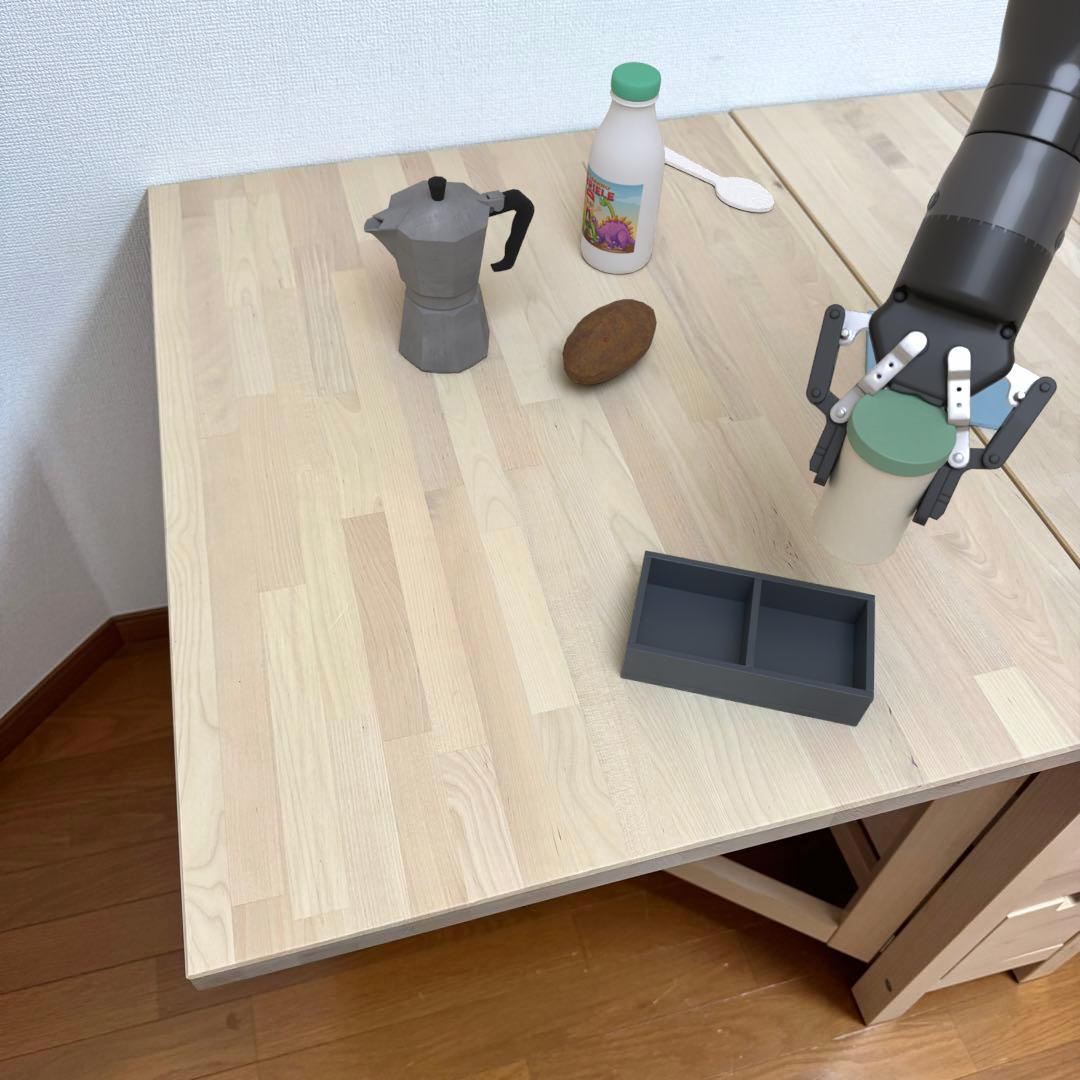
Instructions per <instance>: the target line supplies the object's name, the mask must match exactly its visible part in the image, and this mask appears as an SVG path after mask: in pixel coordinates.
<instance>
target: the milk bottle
mask: <svg viewBox="0 0 1080 1080" xmlns="http://www.w3.org/2000/svg"><path fill="white" fill-rule="evenodd" d="M661 84H662V75H661V73H660V71H659V70H658V69H657V68H656V67H654V66H653V65H650V64H648V63H644V62H639V61H629V62H624V63H621V64H619V65H617V66H616V67H614V69H613V70H612V73H611V79H610V90H609V95H610V98H611V102H610V104H609V108H608V111H607V113H606V115H605V117H604V119H603V120H602V122H601V123H600V124H599V126H598V128H597V130H596V132H595V134H594V137H593V138H592V142H591V145H590V149H589V153H588V162H587V169H586V178H585V179H586V180H585V190H584V200H583V201H584V202H583V213H582V222H581V223H582V224H581V235H580V252H581V254H582V256H583V259H584V260H585V262H586V263H587V264H588V265H589V266H591V267H593V268H594V269H596V270H598V271H601V272H603V273H607V274H615V275H623V274H630V273H634V272H637V271H639V270H641V269H642V268H644V267H645V266H646V265H647V264H648V262H649V261H650V259H651V258H652V253H653V248H654V244H655V242H654V241H655V238H656V237H655V235H656V230H657V222H658V215H659V209H660V204H661V203H660V202H661V196H662V188H663V183H664V182H663V181H664V173H665V164H666V163H665V148H664V146H665V142H664V138H663V134H662V131H661V128H660V125H659V121H658V117H657V112H656V103H657V102H658V100H659V98H660V94H659V93H660V92H661V91H660V90H661Z"/></svg>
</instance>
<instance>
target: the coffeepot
mask: <svg viewBox="0 0 1080 1080" xmlns="http://www.w3.org/2000/svg"><path fill="white" fill-rule="evenodd" d="M511 211H514V212H515V214H514V216H513V219H512V222H511V227H510V232H509V236H508V238H507V239H506V241H505V243H504V255H503V258H502V259H501V260H498V261H496V262H493V263H490V268H491V270H492V272H493V273H500V272H504V271H509V270H511V269H513V267H515V264H516V261H517V258H518V255H519V253H520V250H521V248H522V246H523V243H524V240H525V239H526V235H527V232H528V229H529V227H530V225H531V223H532V220H533V219H534V215H535V211H536V209H535V205H534V203H533V201H532V200H531V199H530V198H529V197H528V196H527V195H525V194H524V193H523V192H522V191H521V190H520V189H517V188H511V189H508V190H504V191H500V190H498V189H497V190H492V191H491V190H490V191H485V192H482V193H479V192H478V191H477V190H475V189H474V188H473V187H471V186H469V185H468V184H467V183H465V182H459V181H448V179H447V178H445V177H444V176H441V175H440V176H439V175H433V176H432V177H429V178H428V179H427V180H421V181H419V182H417V183H415V184H412V185H410V186H408V187H406V188H404V189H402V190H399V191H397V192H395V193H392V194H391V195H390V198H389V202H388V207H387V208H384V209H383V210H381V211H378V212H377V213H375V214H373V215H372V216H371V217H369V218H367V219H366V221H365V223H364V225H363V231H364V233H365V234H366V233H367V234H371V235H372V236H373V237H374V238H376V239H377V240H378V241H379V242H380V243H381V244H382V246H383V247H384V248H385V249H386V250H387V251H388V252H389V253H390V255H391V256H392V257H393V258H394V259H395V262H396V267H397V270H398V273H399V274H398V275H399V278H400V280H401V281H402V282H403V283H404V284H405V291H404V297H403V308H402V315H401V324H400V334H399V343H398V352H399V353H400V354H401V355H402V356H403V357H404V358H405V359H406V360H407V361H408V362H409V364H412V365H413V366H415V367H416V368H418V369H420V370H421V371H425V372H429V373H433V374H454V373H460V372H463V371H466V370H468V369H470V368H473V367H475V366H476V365H477V364H478V363H480V362H481V361H482V360H483V359H485V358H486V357H487V356H488V352H489V351H488V350H489V341H490V334H491V333H490V332H491V331H490V330H491V329H490V326H489V321H488V316H487V312H486V307H485V302H484V298H483V293H482V287H481V284H480V282H479V281H480V274H481V270H482V269H481V267H482V262H483V257H484V256H483V255H484V250H485V249H484V248H485V242H486V237H487V229H488V225H489V219H490V218H491V217H495V216H498V215H502V214H504V213H508V212H511Z"/></svg>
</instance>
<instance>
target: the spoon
mask: <svg viewBox="0 0 1080 1080" xmlns="http://www.w3.org/2000/svg"><path fill="white" fill-rule="evenodd" d="M664 148H665V164H667V165H669V166H672V168H675V169H678V170H680V171H682V172H684V173H686V174H688V175H691V176H693V177H695V178H696V179H699V180H702V181H703V182H706V183H708V184H710V185H712V186H713V187H714V191H715V194H716V196H717V197H718V199H720V200H721V201H722V202H723V203H725V204H726V205H728V206H731V207H733V208H735V209H739V210H741V211H746V212H751V213H767V212H770V211H772V209H773V208H774V205H775V199H774V196H773V195H772V193H771V192H770V191H769V189H766V187H764V186H763V185H761V184H760V183H757V182H755V181H753V180H752V179H750V178H749V179H748V178H746V177H740V176H738V177H737V176H730V177H724V176H721V175H718V174H716V173H714V172H712V171H711V170H710V169H709V168H708V169H707V168H705V167H703V166H702V165H700V164H698V163H695V162H694V161H693V160H690V159H689V158H687V157H685V156H684V155H681V154H680V153H678V152H676V151H675V150H672V149H670V148H669V147H667V146H666V145H664Z"/></svg>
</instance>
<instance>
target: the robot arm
mask: <svg viewBox="0 0 1080 1080" xmlns="http://www.w3.org/2000/svg"><path fill="white" fill-rule="evenodd" d="M999 38H1000V39H999V45H998V52H997V58H996V62H995V66H994V69H993V72H992V75H991V76H990V78H989V80H988V83H987V85H986V87H985V89H984V90H983V93H982V95H981V98H980V100H979V103H978V105H977V107H976V109H975V112H974V114H973V116H972V118H971V121H970V123H969V126H968V128H967V130H966V132H965V135H964V137H963V138H962V141H961V143H960V145H959V146H958V149H957V151H956V152H955V153H954V156H953V157H952V159H951V161H950V162H949V164H948V166H947V167H946V169H945V171H944V172H943V174H942V176H941V177H940V180H939V182H938V185H937V187H936V188H935V191H934V192H933V193H932V195H931V196H930V199H929V201H928V203H927V205H926V212H925V213H924V217H923V218H922V220H921V223H920V226H919V227H918V230H917V233H916V235H915V237H914V239H913V241H912V244H911V246H910V248H909V251H908V252H907V255H906V258H905V259H904V261H903V264H902V266H901V269H900V271H899V273H898V276H897V278H896V280H895V283H894V285H893V287H892V289H891V292H890V294H889V296H888V298H887V299H886V300H885V301H884V303H883V304H881V305H880V306H879V307H878V308H876V309H875V310H874V311H875V312H874V313H873V314H870V313H868V312H865V311H864V312H863V311H857V310H851V309H846V308H844V306H843V305H841V304H838V303H833V304H830V305H829V306H827V307H826V309H825V311H824V315H823V318H822V323H821V327H820V330H819V331H820V332H819V336H818V340H817V343H816V348H815V352H814V356H813V361H812V365H811V370H810V373H809V378H808V382H807V386H806V390H805V396H806V399H807V400H808V402H809V403H810V404H811V405H813V406H814V407H815V408H816V409H818V410H819V411H820V412H821V413H822V414H823V415H824V416H825V424H824V427H823V430H822V432H821V435H820V436H819V439H818V441H817V444H816V446H815V448H814V451H813V453H812V455H811V458H810V459H809V464H808V465H809V469H808V470H809V471H810V472H812V473H815V477H814V478H813V481H812V483H813V484H816V485H818V486H821V487H823V488H825V486H826V483H827V481H828V478H829V476H830V474H831V472H832V469H833V467H834V464H835V462H836V459H837V457H838V454H839V452H840V449H841V447H842V444H843V442H844V440H845V437H846V434H847V423H848V420H849V418H850V415H851V413H852V410H853V408H854V406H855V404H856V403H857V402H858V400H859V399H861V398H862V397H863V396H865V395H866V394H868V395H870V396H872V397H873V396H874V395H875V394H876V393H877V392H879V391H880V390H882V389H885V388H887V389H892V390H895V391H897V392H901V393H905V394H913V395H917V396H919V397H920V398H922V399H923V400H925V401H926V402H928V403H930V404H933V405H936V406H939V407H941V408H943V409H944V410H945V411H946V413H947V421H948V425H952V426H955V428H956V434H957V439H956V444H955V446H954V448H953V450H952V452H951V454H950V456H949V458H948V460H947V461H946V463H945V464H944V465H943V466H942V467H941V468H940V469H938V471H937V472H936V474H935V476H934V478H933V480H932V482H931V483H930V485H929V487H928V489H927V491H926V493H925V495H924V497H923V498H922V500H921V502H920V504H919V506H918V508H917V510H916V512H915V514H914V516H913V517H912V519H911V523H912V522H913V523H914V524H917V525H920V526H922V527H925V526H926V524H927V523H928V520H929V519H932V520H935V521H938V520H940V518H941V517H942V516H944V514H945V513H946V511H947V508H948V506H949V504H950V501H951V499H952V497H953V495H954V493H955V491H956V489H957V486H958V484H959V482H960V480H961V478H962V476H963V475H964V474H965V473H966V472H967V471H969V470H984V471H985V470H986V471H987V470H988V471H990V470H991V471H992V470H998V469H1000V468H1002V467H1003V466H1004V465H1005V463H1006V462H1007V461H1008V459H1009V458H1010V456H1011V455H1012V454H1013V452H1014V451H1015V450H1016V448H1017V447H1018V445H1019V444H1020V442H1021V441H1022V439H1024V437H1025V435H1026V434H1027V433H1028V431H1029V430H1030V428H1031V427H1032V426H1033V424H1034V423H1035V422H1036V420H1037V419H1038V417H1039V416H1040V415H1041V413H1042V412H1043V410H1044V409H1045V407H1046V406H1047V405H1048V403H1049V402H1050V400H1051V399H1052V398H1053V396H1054V395H1055V393H1056V392H1057V390H1058V385H1057V381H1056V380H1055V379H1054V378H1053V377H1051V376H1048V375H1047V376H1046V375H1045V376H1038V375H1037V374H1036V373H1033V372H1032V371H1030V370H1028V369H1026V368H1024V367H1023V366H1021V365H1019V364H1017V363H1016V357H1015V343H1016V339H1017V337H1018V335H1019V332H1020V330H1021V328H1022V326H1023V324H1024V323H1025V320H1026V317H1027V316H1028V314H1029V311H1030V309H1031V306H1032V305H1033V302H1034V301H1035V298H1036V296H1037V294H1038V292H1039V289H1040V288H1041V285H1042V283H1043V281H1044V279H1045V276H1046V274H1047V272H1048V270H1049V268H1050V265H1051V264H1052V261H1053V259H1054V257H1055V255H1056V253H1057V251H1058V250H1059V249H1060V248H1061V246H1062V245H1063V242H1064V240H1065V237H1066V231H1067V229H1068V227H1069V224H1070V222H1071V220H1072V218H1073V215H1074V212H1075V210H1076V207H1077V204H1078V200H1079V196H1080V0H1007V5H1006V10H1005V15H1004V18H1003V22H1002V26H1001V33H1000V37H999ZM867 331H869V335H870V340H871V344H872V348H873V352H874V356H875V361H876V366H875V367H874V368H873V369H871V370H870V371H869V372H868V373H867V374H866V373H865V375H864V376H863V377H862V378H861V379H859V380H858V381H857V383H856V384H855V385H854V386H852V388H851V389H850V390H848V392H846V394H845V395H843V396H842V397H841V398H839V397H838V396H837V395H835V394H834V393H833V392H832V391H831V386H832V381H833V377H834V374H835V369H836V366H837V361H838V358H839V357H838V356H839V352H840V348H841V347H848V346H851V345H853V343H854V342H855V340H856V338H857V336H858V335H859V334H860V333H862V332H867ZM1001 379H1005V380H1006V381H1007V382H1008V385H1009V390H1008V392H1007V394H1006V401H1007V403H1008V405H1010V406H1011V407H1013V408H1012V410H1011V411H1010V413H1009V414H1008V416H1007V417H1006V418H1005V420H1004V421H1003V423H1002V424H1001V426H1000V427H999V428H998V430H996V431H995V433H993V436H992V437H991V438H990V439H989V440H988V442H987V444H986V445H985V447H983V448H982V447H971V443H970V442H971V439H970V438H971V435H970V434H971V425H970V421H971V411H970V398H971V397H972V396H974V395H976V394H978V393H979V392H981V391H983V390H984V389H986V388H988V387H989V386H991V385H993V384H994V383H996V382H998V381H999V380H1001Z"/></svg>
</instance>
